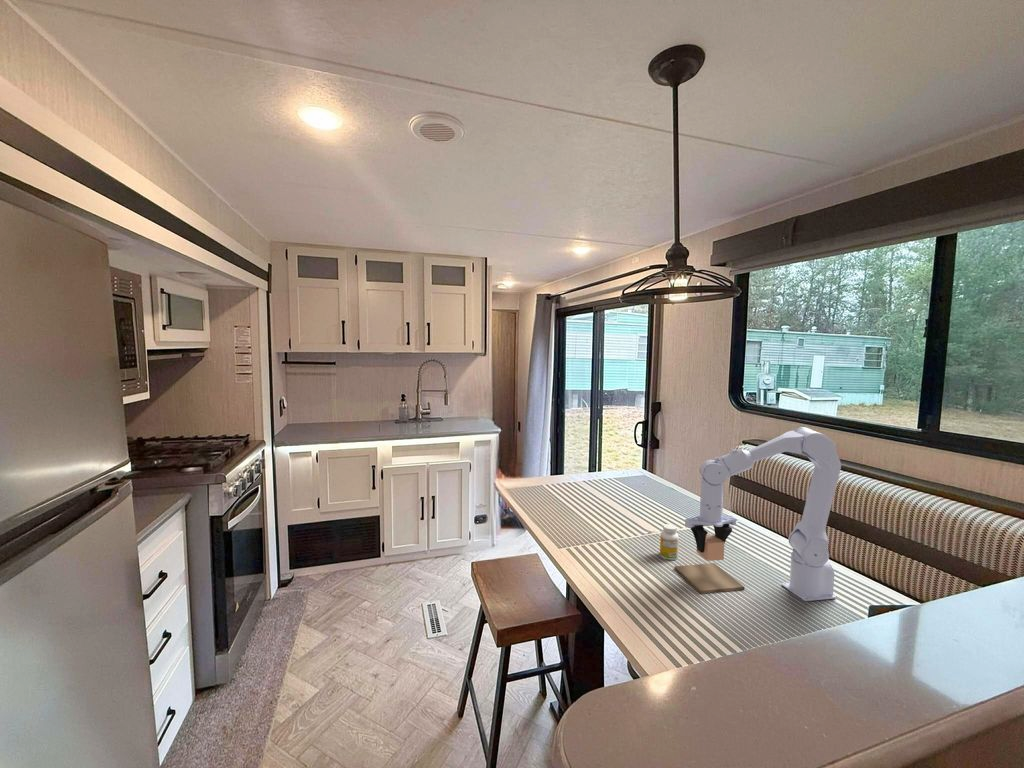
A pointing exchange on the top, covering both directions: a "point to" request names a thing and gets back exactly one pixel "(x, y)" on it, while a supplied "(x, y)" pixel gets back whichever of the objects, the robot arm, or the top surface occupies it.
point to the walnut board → (708, 578)
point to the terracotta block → (713, 549)
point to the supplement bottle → (669, 542)
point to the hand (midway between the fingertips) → (709, 550)
